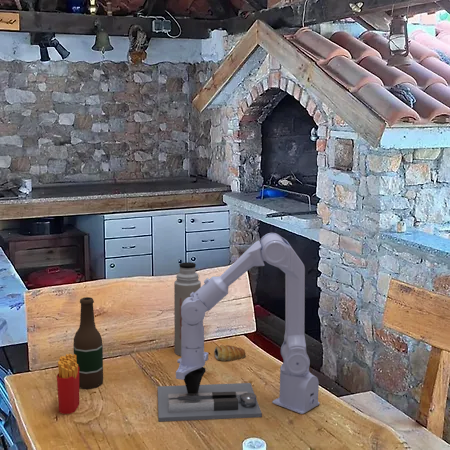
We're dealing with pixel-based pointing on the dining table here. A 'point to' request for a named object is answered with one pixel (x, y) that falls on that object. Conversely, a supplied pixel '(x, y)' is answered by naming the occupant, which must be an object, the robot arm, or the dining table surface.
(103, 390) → the dining table surface
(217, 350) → the pastry
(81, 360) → the beer bottle
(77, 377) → the french fries
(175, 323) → the thermos bottle
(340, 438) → the dining table surface
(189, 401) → the arm
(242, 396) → the tongs moving arm
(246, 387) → the slate board
